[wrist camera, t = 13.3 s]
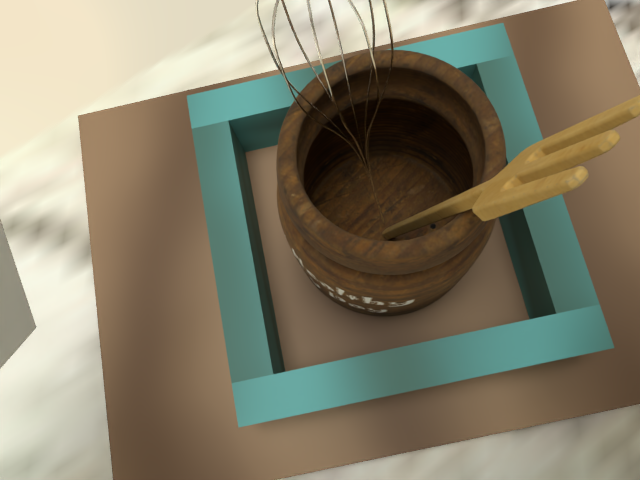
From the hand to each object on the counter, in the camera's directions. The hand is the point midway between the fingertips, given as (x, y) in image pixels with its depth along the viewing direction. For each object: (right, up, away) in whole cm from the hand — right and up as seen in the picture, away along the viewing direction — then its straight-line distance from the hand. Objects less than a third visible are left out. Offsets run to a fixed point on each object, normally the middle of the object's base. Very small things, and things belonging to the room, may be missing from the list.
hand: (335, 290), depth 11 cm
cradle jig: (+2, +1, +9) cm, 9 cm away
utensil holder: (+2, +1, +8) cm, 9 cm away
